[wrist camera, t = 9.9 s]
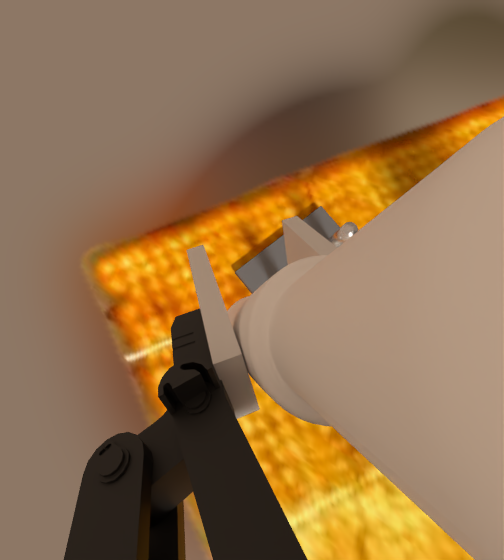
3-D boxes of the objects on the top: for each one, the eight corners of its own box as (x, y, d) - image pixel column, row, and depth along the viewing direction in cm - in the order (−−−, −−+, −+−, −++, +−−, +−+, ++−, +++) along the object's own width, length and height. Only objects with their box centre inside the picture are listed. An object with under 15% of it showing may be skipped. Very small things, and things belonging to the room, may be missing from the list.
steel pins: (328, 239, 39) (350, 219, 32) (373, 291, 38) (406, 281, 31) (271, 285, 37) (282, 274, 30) (317, 341, 36) (339, 343, 29)
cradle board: (318, 209, 41) (321, 205, 39) (390, 291, 39) (396, 290, 38) (235, 273, 37) (235, 271, 36) (310, 365, 36) (313, 366, 35)
